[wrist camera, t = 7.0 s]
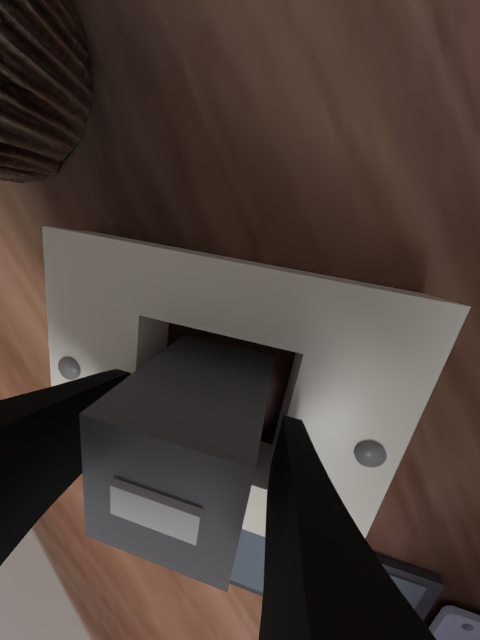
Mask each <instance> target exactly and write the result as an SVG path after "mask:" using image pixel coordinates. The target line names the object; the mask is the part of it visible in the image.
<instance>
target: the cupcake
mask: <svg viewBox="0 0 480 640" xmlns="http://www.w3.org/2000/svg"><path fill="white" fill-rule="evenodd" d="M90 64H91V59H90V57H89V54H88V51H87V46H86V40H85V33H84V28H83V25H82V23H81V21H80V19H79V17H78V15H77V13H76V11H75V9H74V7H73V5H72V4H71V2H70V0H0V180H5V181H12V182H19V183H24V182H27V181H42V180H44V179H45V178H46V177H47V176H48V175H57V174H58V171H59V169H60V166H61V164H62V161H63V160H64V159H65V157H66V156H67V155H68V154H69V153H70V152H71V151H72V150H73V149H74V147H75V146H76V145H77V144H78V142H79V141H80V139H81V137H82V134H83V132H84V129H85V126H86V119H87V116H88V114H89V112H90V102H91V99H92V96H93V93H92V74H91V70H90Z"/></svg>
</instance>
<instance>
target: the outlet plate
mask: <svg viewBox="0 0 480 640" xmlns="http://www.w3.org/2000/svg"><path fill="white" fill-rule="evenodd" d="M42 236H43V253H44V270H45V287H46V304H47V321H48V338H49V355H50V372H51V387H52V386H55V385H59V384H62V383H66V382H69V381H73V380H76V379H80V378H83V377H86V376H90V375H93V374H97V373H101V372H104V371H108V370H113V369H119V370H122V371H126V372H130V373H131V374H132V373H134V372H135V371H136V370H138V369H139V368H140V367H142V366H143V365H144V364H146V363H147V362H148V361H150V360H151V359H152V358H153V357H155V356H156V355H157V354H159V353H160V352H161V351H163V350H164V349H165V348H167V340H168V329H169V323H173V324H178V325H182V326H186V327H190V328H195V329H199V330H203V331H207V332H212V333H216V334H220V335H224V336H228V337H233V338H237V339H241V340H245V341H250V342H254V343H258V344H262V345H267V346H271V347H275V348H279V349H283V350H288V351H292V352H296V353H295V357H294V361H293V365H292V368H291V372H290V376H289V380H288V384H287V388H286V392H285V396H284V399H283V403H282V407H281V411H280V415H279V419H278V423H277V427H276V431H275V434H274V438H273V442H272V444H269V443H266V442H262V441H260V446H259V451H258V457H257V462H256V468H255V472H254V477H253V481H252V486H251V490H250V494H249V499H248V503H247V508H246V512H245V516H244V521H243V525H242V529H244V530H247V531H249V532H252V533H255V534H258V535H261V536H263V537H265V531H266V504H267V490H268V482H269V474H270V467H271V461H272V457H273V453H274V449H275V446H276V442H277V438H278V434H279V431H280V427H281V423H282V419H283V415H286V416H289V417H293V418H296V419H300V420H302V421H303V423H304V425H305V427H306V430H307V432H308V434H309V437H310V439H311V441H312V443H313V446H314V448H315V450H316V452H317V454H318V456H319V458H320V460H321V462H322V464H323V466H324V468H325V470H326V472H327V474H328V476H329V478H330V480H331V482H332V484H333V485H334V487H335V489H336V491H337V493H338V494H339V496H340V498H341V500H342V501H343V503H344V505H345V507H346V508H347V510H348V512H349V514H350V515H351V517H352V519H353V520H354V522H355V523H356V525H357V527H358V528H359V530H360V532H361V533H362V535H363V536H364V538H366V536H367V534H368V531H369V529H370V527H371V525H372V523H373V521H374V518H375V516H376V514H377V512H378V510H379V507H380V505H381V503H382V501H383V499H384V496H385V494H386V492H387V490H388V488H389V485H390V483H391V481H392V479H393V477H394V474H395V472H396V470H397V468H398V466H399V464H400V461H401V459H402V457H403V455H404V453H405V450H406V448H407V446H408V444H409V442H410V439H411V437H412V435H413V433H414V431H415V428H416V426H417V424H418V422H419V420H420V418H421V415H422V413H423V411H424V409H425V407H426V404H427V402H428V400H429V398H430V396H431V393H432V391H433V389H434V387H435V385H436V382H437V380H438V378H439V376H440V374H441V371H442V369H443V367H444V365H445V363H446V361H447V358H448V356H449V354H450V352H451V350H452V347H453V345H454V343H455V341H456V339H457V336H458V334H459V332H460V330H461V328H462V325H463V323H464V321H465V319H466V317H467V315H468V312H469V310H470V308H471V307H470V306H466V305H463V304H459V303H456V302H452V301H449V300H445V299H442V298H438V297H435V296H431V295H428V294H424V293H419V292H414V291H408V290H403V289H398V288H392V287H387V286H381V285H376V284H371V283H365V282H360V281H355V280H349V279H344V278H339V277H333V276H328V275H323V274H317V273H312V272H306V271H301V270H296V269H290V268H285V267H280V266H274V265H269V264H264V263H258V262H253V261H247V260H242V259H237V258H231V257H226V256H221V255H215V254H210V253H205V252H199V251H194V250H189V249H183V248H178V247H172V246H167V245H162V244H156V243H151V242H146V241H140V240H135V239H130V238H124V237H119V236H114V235H108V234H103V233H97V232H91V231H82V230H74V229H65V228H57V227H49V226H42Z"/></svg>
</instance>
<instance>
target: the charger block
mask: <svg viewBox="0 0 480 640" xmlns="http://www.w3.org/2000/svg"><path fill="white" fill-rule="evenodd" d="M275 357H276V356H275V355H271V354H267V353H262V352H258V351H254V350H250V349H245V348H241V347H237V346H232V345H228V344H224V343H219V342H215V341H211V340H207V339H202V338H198V337H194V336H189V335H185V334H184V335H183V336H181V337H180V338H179V339H177V340H176V341H175V342H173V343H172V344H171V345H169V346H168V347H167V348H165V349H164V350H163V351H161V352H160V353H159V354H157V355H156V356H155V357H153V358H152V359H151V360H150V361H148V362H147V363H146V364H144V365H143V366H142V367H140V368H139V369H138V370H136V371H135V372H134V373H132V374H131V375H130V376H128V377H127V378H126V379H124V380H123V381H122V382H121V383H119V384H118V385H117V386H115V387H114V388H113V389H111V390H110V391H109V392H107V393H106V394H105V395H103V396H102V397H101V398H99V399H98V400H97V401H95V402H94V403H93V404H92V405H90V406H89V407H88V408H86V409H85V410H84V411H82V412H81V413H80V414H79V420H80V437H81V455H82V472H83V490H84V508H85V525H86V536H89V537H91V538H94V539H96V540H99V541H101V542H104V543H106V544H109V545H111V546H114V547H116V548H119V549H121V550H124V551H126V552H129V553H131V554H134V555H136V556H139V557H141V558H144V559H146V560H148V561H151V562H153V563H156V564H158V565H161V566H163V567H166V568H168V569H171V570H173V571H176V572H178V573H181V574H183V575H186V576H188V577H191V578H193V579H196V580H198V581H201V582H203V583H206V584H208V585H211V586H213V587H216V588H218V589H221V590H223V591H226V592H227V591H228V587H229V583H230V578H231V574H232V569H233V565H234V561H235V556H236V552H237V547H238V543H239V539H240V534H241V530H242V525H243V521H244V516H245V512H246V508H247V503H248V499H249V494H250V490H251V486H252V481H253V477H254V472H255V468H256V462H257V457H258V451H259V446H260V440H261V435H262V429H263V424H264V418H265V413H266V407H267V402H268V396H269V390H270V385H271V379H272V374H273V368H274V363H275Z"/></svg>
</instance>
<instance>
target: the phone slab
mask: <svg viewBox="0 0 480 640" xmlns="http://www.w3.org/2000/svg"><path fill="white" fill-rule="evenodd" d="M375 555H376V556H377V558H378V559H379V561H380V562H381V564H382V565H383V567H384V568H385V570H386V571H387V573H388V574H389V575H390V577H391V578H392V580H393V581H394V583H395V584H396V585H397V587H398V588H399V590H400V591H401V592H402V594H403V595H404V596H405V598H406V599H407V600H408V602H409V603H410V604H411V606H412V607H413V609H414V610H415V611H416V613H417V614H418V615H419V617H420V618H421V619H422V621H424V619H425V618H426V616H427V614H428V613H429V611H430V610H431V608H432V606H433V605H434V603H435V601H436V600H437V598H438V597H439V595H440V593H441V592H442V590H443V589H444V587H445V584H444V582H443V580H442V578H441V576H440V575H437V574H434V573H431V572H428V571H425V570H423V569H420V568H417V567H414V566H411V565H408V564H405V563H402V562H399V561H396V560H393V559H390V558H387V557H384V556H381V555H379V554H376V553H375ZM264 559H265V537H263V536H261V535H258V534H255V533H252V532H249V531H247V530H244V529H242V530H241V534H240V539H239V543H238V547H237V552H236V556H235V561H234V565H233V569H232V574H231V578H230V584H232V585H235V586H238V587H240V588H243V589H245V590H248V591H250V592H253V593H256V594H258V595H261V596H263V586H264Z"/></svg>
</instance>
